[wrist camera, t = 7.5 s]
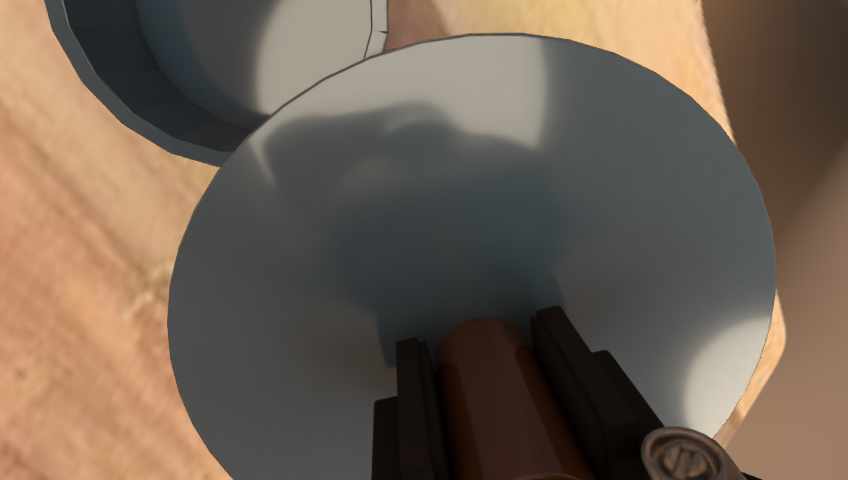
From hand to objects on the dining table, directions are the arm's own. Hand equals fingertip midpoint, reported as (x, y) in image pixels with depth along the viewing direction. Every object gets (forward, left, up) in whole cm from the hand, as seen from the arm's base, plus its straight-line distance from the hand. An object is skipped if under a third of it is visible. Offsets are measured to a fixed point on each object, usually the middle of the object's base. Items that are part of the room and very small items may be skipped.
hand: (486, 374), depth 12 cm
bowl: (-12, +6, -21) cm, 25 cm away
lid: (0, 0, -1) cm, 1 cm away
